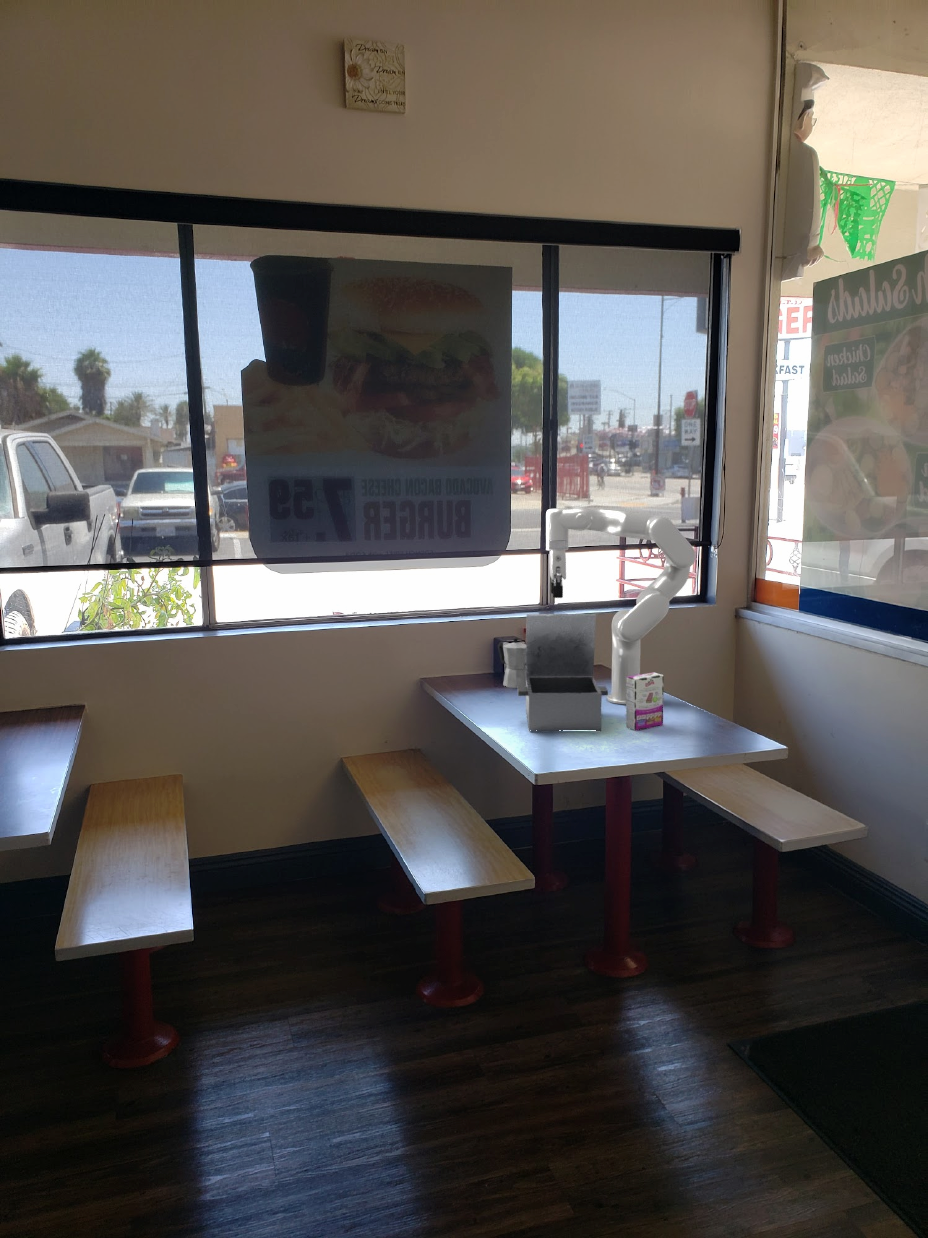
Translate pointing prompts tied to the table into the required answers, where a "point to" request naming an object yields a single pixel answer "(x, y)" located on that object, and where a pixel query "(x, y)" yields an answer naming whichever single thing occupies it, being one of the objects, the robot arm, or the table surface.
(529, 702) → the grey metal box
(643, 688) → the candy bar box
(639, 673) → the robot arm
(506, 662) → the coffeepot
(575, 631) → the cooker lid
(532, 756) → the table surface
